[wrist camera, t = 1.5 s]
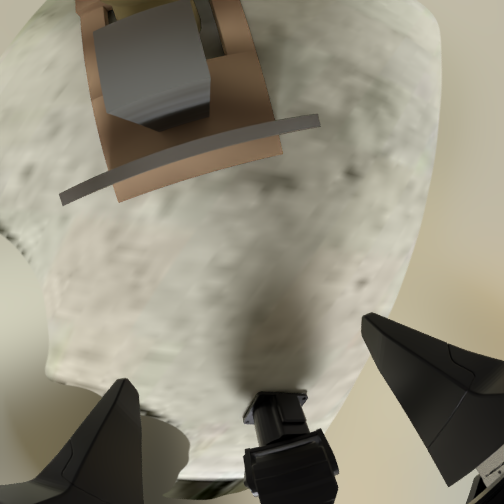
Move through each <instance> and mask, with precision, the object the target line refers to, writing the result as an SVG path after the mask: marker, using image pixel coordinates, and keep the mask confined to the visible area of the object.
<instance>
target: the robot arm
mask: <svg viewBox="0 0 504 504" xmlns="http://www.w3.org/2000/svg"><path fill="white" fill-rule="evenodd" d="M361 334H362V337H363V339H364V341H365V343H366V345H367V347H368V349H369V351H370V353H371V356H372V358H373V360H374V362H375V364H376V366H377V368H378V369H379V371H380V373H381V374H382V376H383V377H384V379H385V381H386V382H387V384H388V385H389V387H390V388H391V390H392V392H393V393H394V395H395V396H396V398H397V400H398V401H399V403H400V404H401V406H402V408H403V409H404V411H405V412H406V414H407V416H408V418H409V419H410V421H411V423H412V424H413V426H414V428H415V429H416V431H417V433H418V434H419V436H420V438H421V439H422V441H423V443H424V445H425V446H426V448H428V452H429V453H430V455H431V457H432V459H433V460H434V462H435V464H436V466H437V468H438V469H439V471H440V473H441V475H442V477H443V479H444V480H445V482H446V484H447V486H448V487H450V486H451V485H453V484H454V483H456V482H457V481H459V480H460V479H462V478H463V477H464V476H466V475H467V474H469V473H470V472H471V471H472V470H474V469H475V468H476V469H477V471H478V472H479V474H478V475H477V476H476V477H475V478H474V480H473V484H472V487H471V490H470V493H469V496H468V499H467V502H466V504H504V361H502V360H498V359H495V358H491V357H487V356H484V355H480V354H477V353H474V352H470V351H467V350H465V349H462V348H459V347H456V346H454V345H451V344H447V343H446V342H444V341H441V340H439V339H436V338H434V337H431V336H429V335H427V334H424V333H422V332H419V331H417V330H414V329H412V328H410V327H407V326H405V325H402V324H400V323H397V322H395V321H393V320H390V319H388V318H385V317H383V316H380V315H378V314H376V313H373V312H371V313H368V314H366V315H363V316H362V324H361ZM307 399H308V396H307V394H295V393H272V392H259V393H258V394H257V396H256V398H255V399H254V401H253V403H252V405H251V407H250V409H249V410H248V412H247V414H246V416H245V417H244V419H243V422H244V424H254V425H255V429H256V434H257V439H258V443H259V447H256V448H252V449H250V448H248V449H245V455H244V456H243V459H244V465H245V474H244V485H245V486H246V487H248V488H249V489H250V490H251V492H252V493H253V495H254V497H258V496H259V499H260V503H261V504H334V501H335V498H336V494H337V491H338V485H337V482H336V479H335V475H338V474H339V469H338V465H337V462H336V459H335V456H334V454H333V451H332V449H331V447H330V445H329V443H328V441H327V440H326V437H325V435H324V433H323V431H322V429H321V428H320V429H317V430H316V431H314V432H311V433H310V431H309V428H308V426H307V423H306V417H305V415H304V412H303V409H302V406H303V404H304V403H305V402H306V400H307ZM141 437H142V433H141V417H140V404H139V394H138V391H137V390H136V389H135V387H134V386H133V385H132V383H131V382H130V381H129V380H128V379H127V378H122V379H117V380H116V381H115V383H114V384H113V385H112V386H111V387H110V389H109V390H108V391H107V392H106V394H105V395H104V396H103V397H102V399H101V400H100V401H99V402H98V404H97V405H96V406H95V407H94V409H93V410H92V411H91V412H90V414H89V415H88V416H87V418H86V419H85V420H84V421H83V422H82V424H81V425H80V426H79V428H78V429H77V430H76V431H75V433H74V434H73V435H72V437H71V438H70V439H69V441H68V442H67V443H66V444H65V445H64V447H63V448H62V449H61V450H60V452H59V453H58V454H57V455H56V456H55V457H54V459H53V460H52V461H51V462H50V463H49V464H48V465H47V466H46V467H45V468H44V469H43V470H42V472H41V473H40V474H39V475H38V476H37V477H36V478H34V479H32V480H30V481H28V482H23V483H16V484H9V485H0V504H144V500H143V485H142V459H141V458H142V454H141V453H142V452H141Z"/></svg>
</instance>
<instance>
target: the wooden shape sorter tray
mask: <svg viewBox="0 0 504 504" xmlns="http://www.w3.org/2000/svg"><path fill="white" fill-rule="evenodd" d="M209 2H210V5H211V9H212V12H213V16H214V19H215V22H216V26H217V29H218V33H219V36H220V40H221V43H222V47H223V50H224V54H225V56H221V57H216V58H212V59H207V60H206V58H205V54H204V50H203V47H202V43H201V39H200V36H199V32H198V28H197V24H196V21H195V17H194V13H193V10H192V6H191V2H190V0H179V1H175V2H171V3H168V4H164V5H161V6H157V7H154V8H151V9H148V10H145V11H142V12H139V13H136V14H134V15H131V16H128V17H126V18H123V19H121V20H118V21H116V22H113V23H111V24H109V21H108V13H107V12H108V11H110V10H112V9H113V8H112V5H107V4H105V3H103V2H101V1H100V0H75V3H76V13H77V14H78V15H79V16H80V18H81V32H82V42H83V51H84V59H85V67H86V73H87V79H88V85H89V91H90V96H91V102H92V107H93V111H94V116H95V120H96V125H97V129H98V133H99V137H100V141H101V145H102V149H103V153H104V156H105V160H106V164H107V167H108V171H107V172H105V173H102V174H100V175H98V176H96V177H93V178H91V179H89V180H87V181H85V182H82V183H80V184H78V185H76V186H74V187H72V188H70V189H68V190H66V191H64V192H62V193H60V194H59V196H60V199H61V202H62V205H63V206H64V205H66V204H68V203H71V202H73V201H75V200H77V199H79V198H82V197H84V196H86V195H89V194H91V193H93V192H96V191H98V190H100V189H103V188H105V187H108V186H110V185H113V187H114V190H115V193H116V196H117V199H118V202H119V203H120V202H123V201H125V200H128V199H131V198H133V197H136V196H139V195H142V194H144V193H147V192H150V191H153V190H156V189H159V188H162V187H165V186H168V185H171V184H174V183H177V182H180V181H183V180H187V179H190V178H193V177H196V176H200V175H203V174H206V173H210V172H213V171H217V170H221V169H224V168H228V167H232V166H235V165H239V164H243V163H247V162H251V161H255V160H259V159H263V158H268V157H272V156H276V155H281V154H283V151H282V147H281V142H280V138H279V135H280V134H285V133H289V132H294V131H300V130H305V129H310V128H316V127H321V126H320V121H319V117H318V114H312V115H305V116H299V117H293V118H287V119H281V120H276V121H275V118H274V114H273V110H272V106H271V103H270V99H269V95H268V91H267V88H266V84H265V80H264V77H263V73H262V70H261V66H260V63H259V59H258V56H257V53H256V49H255V46H254V43H253V40H252V36H251V33H250V30H249V27H248V24H247V21H246V18H245V15H244V12H243V9H242V6H241V3H240V0H209Z"/></svg>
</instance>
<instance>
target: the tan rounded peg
mask: <svg viewBox="0 0 504 504" xmlns="http://www.w3.org/2000/svg"><path fill="white" fill-rule="evenodd" d="M100 1H101V2H103V3H105V4H107V5H112V8H113V11H114V14H115V17H116V19H117V21H118V20H121V19H123V18H126V17H128V16H131V15H134V14H136V13H139V12H142V11H145V10H148V9H151V8H154V7H157V6H161V5H164V4H168V3H171V2H175V1H179V0H100ZM190 2H191V6H192V10H193V13H194V17H195V21H196V24H197V28H198V32H199V33H200V30H201V19H200V16H199V14H198V11H197V9H196V6H195V3H194V1H193V0H190Z"/></svg>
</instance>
